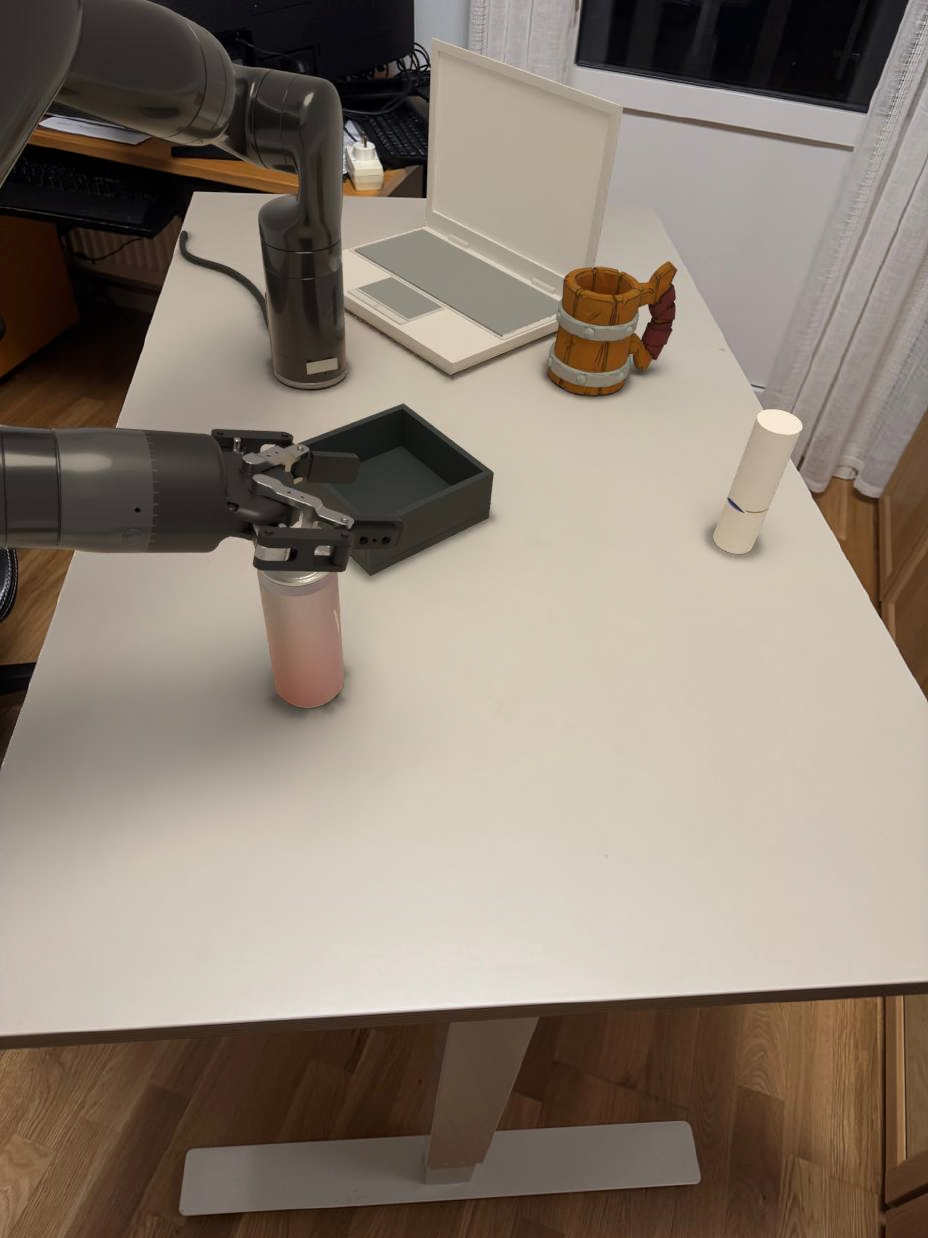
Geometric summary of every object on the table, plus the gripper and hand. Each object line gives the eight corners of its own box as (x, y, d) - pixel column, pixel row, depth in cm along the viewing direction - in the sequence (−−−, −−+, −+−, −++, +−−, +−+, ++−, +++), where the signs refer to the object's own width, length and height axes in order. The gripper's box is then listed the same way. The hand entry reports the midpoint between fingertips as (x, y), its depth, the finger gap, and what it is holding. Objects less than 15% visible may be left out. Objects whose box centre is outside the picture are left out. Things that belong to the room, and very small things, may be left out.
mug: (534, 357, 115) (549, 246, 104) (646, 351, 118) (672, 243, 107) (556, 400, 108) (575, 286, 97) (675, 393, 111) (706, 281, 100)
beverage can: (277, 659, 75) (258, 531, 64) (345, 657, 76) (337, 530, 65) (272, 712, 71) (251, 585, 60) (344, 710, 72) (335, 584, 61)
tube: (754, 533, 92) (803, 415, 81) (750, 558, 89) (801, 438, 78) (715, 523, 93) (758, 405, 82) (710, 547, 90) (754, 427, 79)
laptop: (296, 281, 126) (279, 60, 105) (430, 240, 139) (437, 36, 119) (451, 381, 109) (466, 141, 89) (586, 324, 122) (626, 104, 102)
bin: (287, 494, 91) (282, 448, 87) (402, 447, 99) (403, 402, 94) (370, 575, 83) (369, 529, 79) (489, 517, 91) (494, 472, 86)
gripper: (163, 499, 45) (431, 506, 53) (121, 383, 54) (354, 404, 62) (152, 611, 49) (402, 601, 57) (114, 485, 58) (334, 492, 66)
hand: (377, 498), depth 60 cm, fingers open, 8 cm apart
